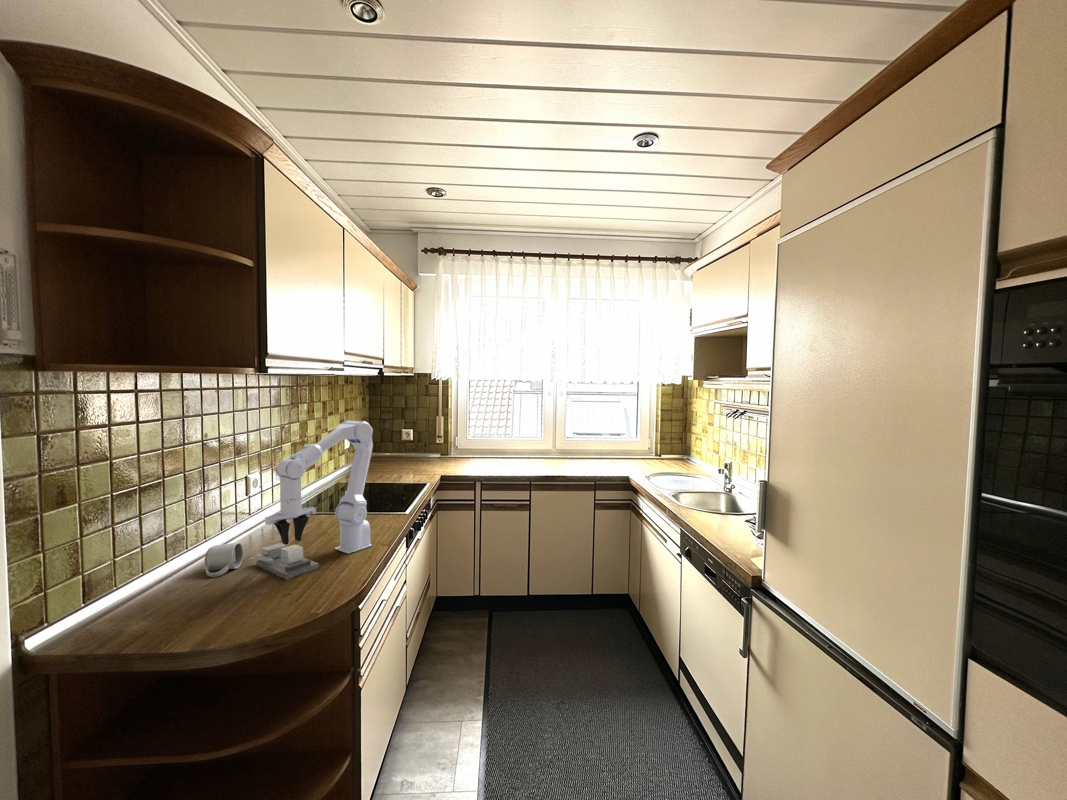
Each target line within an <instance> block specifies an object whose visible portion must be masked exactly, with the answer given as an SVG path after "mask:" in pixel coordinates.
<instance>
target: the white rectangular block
mask: <svg viewBox="0 0 1067 800" xmlns="http://www.w3.org/2000/svg"><path fill="white" fill-rule="evenodd" d="M303 557H304V546H301V545H298V544H296V543H295V544H292V545H289V546H288V545H287V547H284V548H281V565H283V566H285V567H286V566H289V565H292V564H295V563H298V562H302V561H303Z"/></svg>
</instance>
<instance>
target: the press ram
mask: <svg viewBox="0 0 1067 800" xmlns="http://www.w3.org/2000/svg"><path fill="white" fill-rule="evenodd" d="M284 547H288V544H287V545H285V544H283V543H282V542H278V543H274V544H271V545H268V546H264V547H261V549H260V551H261V552H260V554H262V555H264V556H266V557H269V558H271V559H273V558H276V557H280V556H281V548H284Z"/></svg>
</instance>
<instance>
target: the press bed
mask: <svg viewBox="0 0 1067 800" xmlns="http://www.w3.org/2000/svg"><path fill="white" fill-rule="evenodd" d="M255 557H256V563H255V564H256V565H257V566H256V567H258V566H259V568H260V567H261V569H262V568H263V570H265V571H267V572H269V573H271V572H272V573H271V574H273V573H274V574H273V575H275V574H276V575H275V576H278V577H280V578H282V579H284V580H290V579H293V578H296V577H298V576H301V575H304V574H307V573H310V572H312V571H315V570H318V569H320V563H319V562H316V561H313V560H311V559H308V558H306V557H304V556H303V561H302V562H298V563H295V564H292V565H289V566H286V567H285V566H283V565H281V556H280V557H276V558H273V559H271V558H269V557H266V556H264V555H262V554H261V553H257V554H256V556H255Z"/></svg>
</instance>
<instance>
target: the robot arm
mask: <svg viewBox="0 0 1067 800" xmlns="http://www.w3.org/2000/svg"><path fill="white" fill-rule="evenodd" d="M373 432H374V429H373V426H371V425H370V423H369V422H367V421H365V420H364V421H363V420H362V421H359V420H358V421H357V420H344V421H343V422H341V423H339V424H338V425H337V426H336V428H334V429H333V430H332V431H330V433H328V434H327V435H325V436H324V437H323V438H322V439H320V440H319V441H318V442H317V443H308V444H307V443H306V444H304V445H302V447H303V448H302V449H300V450H298V451H297V452H296V453H292V454H291V455H290V457H289V458H283V459H281V460H280V461H279V462H278V464H277V466H276V468H275V474H276V475H277V476H278V477H279V495H280V496H279V497H280V500H279V501H280V505H279V506H280V512H278V513H275V514H273V515H269V516H265V517H264V524H265V525H267V526H270V525H274V526H275V528H276V529H277V531H278V533H279V535H280V538H281V543H283V544H285V545H287V546H288V545H289V542H290V541H289V538H290V537H289V531H290V525H291V523H290V522H288V520H292V521H293V527H294V540H295V541H296V542H300V541H302V536H303V532H304V529H305V527H306V525H307V524H308V521H309V516H308V515H315V514H316V512H317V510H316V507H314V506H308V507H302V477H303V476H304V475H305V472H306V470H307V469H308V468H309V467H311V466H312V465H314V464H315V463H316V462H318V461H319V460H320V459H322V457H323V453H324V452H326V451H328V450H330V448H332V447H333V446H335V445H337V444H338V443H339V442H341V441H343V440H346V441H348V442H350V443H351V445H352V446H353V447H354V449H355V450H354V455H353V458H352V464H351V468H350V474H349V479H348V482H347V488H346V493H345V494H344V495H343V496H341V497H340V500H339V503H338V505H337V506H336V508H335V510H334V511H335V513H334V516H335V518H336V519H338V523H339V542H340V543H339V546H336V547H334V550H336V551H338V552H342V553H345V554H347V555H349V554H352V553H354V552H357V551H361V550H364V549H367V548H370V547H372V544H371V525H370V522H369V521H368V520H366V517H367V515H368V511H367V504H368V503H367V500H366V499H365V497H364V491H365V486H366V481H367V477H368V471H369V467H370V462H371V457H372V453H373V447H374V443H373Z"/></svg>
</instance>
